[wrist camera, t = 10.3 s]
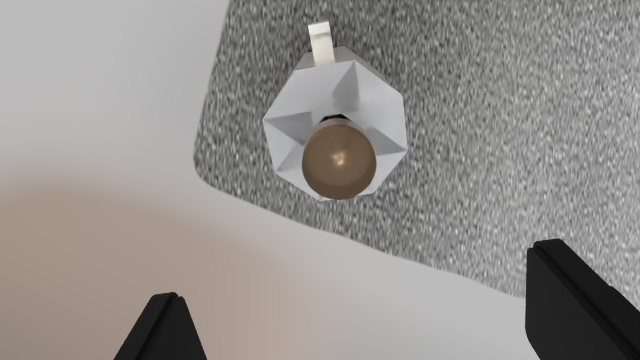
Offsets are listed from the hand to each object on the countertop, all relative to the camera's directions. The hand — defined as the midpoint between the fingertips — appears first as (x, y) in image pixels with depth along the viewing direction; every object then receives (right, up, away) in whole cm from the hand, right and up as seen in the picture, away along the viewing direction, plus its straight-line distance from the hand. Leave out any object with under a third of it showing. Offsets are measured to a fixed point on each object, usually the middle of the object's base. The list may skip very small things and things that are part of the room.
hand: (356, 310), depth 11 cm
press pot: (0, +13, +27) cm, 30 cm away
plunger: (0, +11, +27) cm, 29 cm away
